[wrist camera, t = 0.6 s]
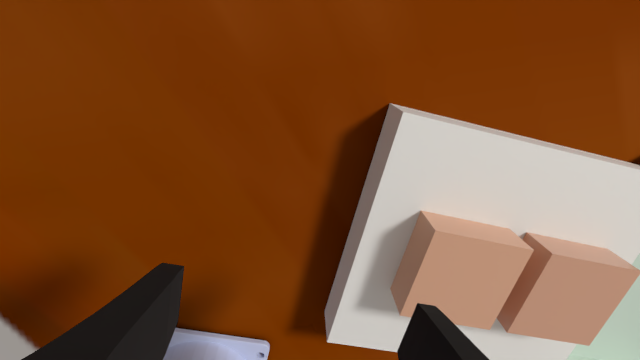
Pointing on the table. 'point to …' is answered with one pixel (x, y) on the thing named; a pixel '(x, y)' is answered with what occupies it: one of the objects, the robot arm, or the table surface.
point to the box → (617, 331)
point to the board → (472, 217)
